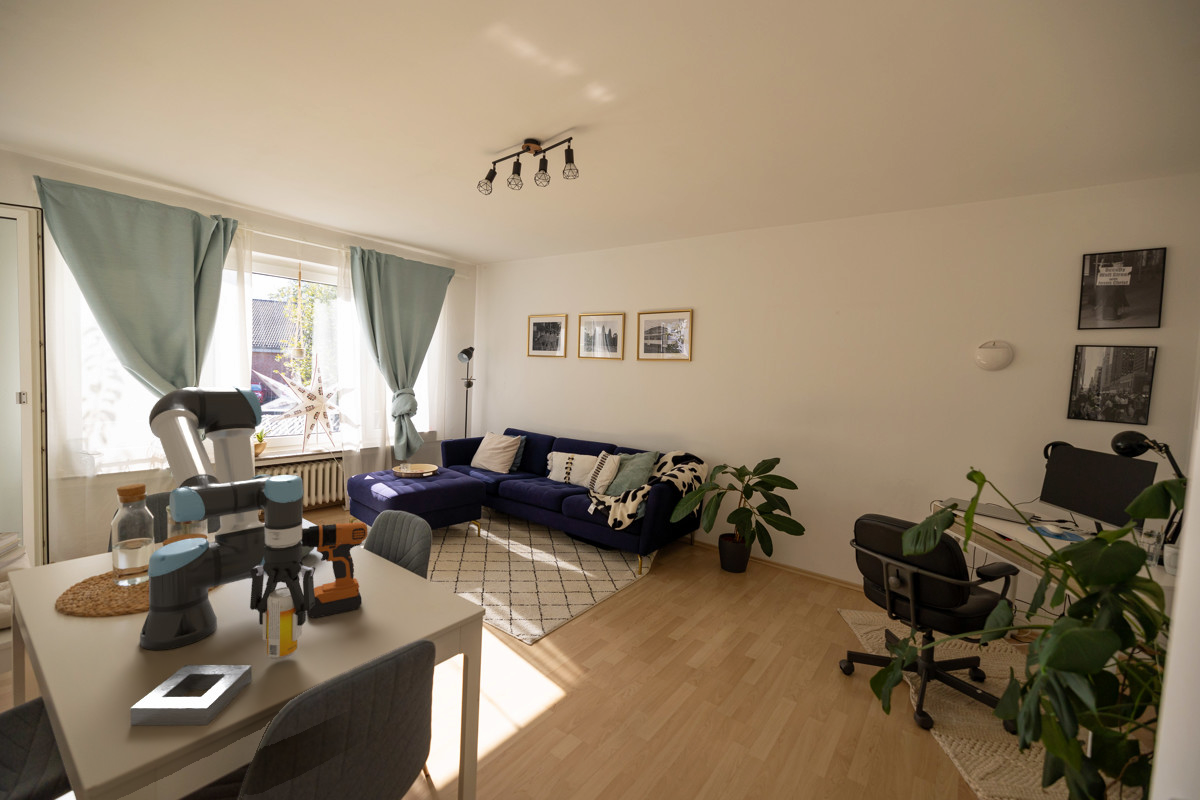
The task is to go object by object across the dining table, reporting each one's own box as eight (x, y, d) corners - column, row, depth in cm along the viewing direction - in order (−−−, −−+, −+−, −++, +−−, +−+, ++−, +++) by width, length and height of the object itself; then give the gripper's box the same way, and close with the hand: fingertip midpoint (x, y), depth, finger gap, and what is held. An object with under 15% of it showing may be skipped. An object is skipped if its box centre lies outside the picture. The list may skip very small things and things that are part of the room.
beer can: (302, 646, 123) (303, 586, 122) (287, 661, 117) (288, 598, 116) (276, 645, 123) (277, 585, 121) (261, 660, 117) (261, 597, 115)
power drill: (280, 625, 135) (280, 534, 134) (280, 614, 141) (280, 526, 140) (368, 607, 147) (369, 524, 145) (364, 597, 153) (365, 517, 151)
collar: (130, 725, 97) (130, 708, 97) (185, 680, 111) (185, 665, 111) (206, 724, 98) (206, 707, 98) (251, 680, 112) (251, 665, 112)
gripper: (230, 547, 113) (229, 645, 115) (317, 549, 114) (316, 647, 116) (251, 535, 121) (250, 627, 122) (333, 538, 122) (331, 629, 124)
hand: (282, 637), depth 119 cm, fingers closed on beer can, 6 cm apart
